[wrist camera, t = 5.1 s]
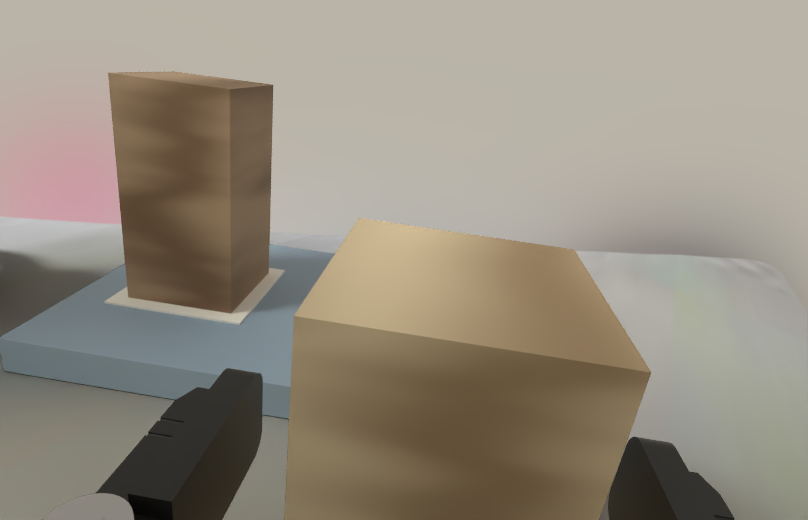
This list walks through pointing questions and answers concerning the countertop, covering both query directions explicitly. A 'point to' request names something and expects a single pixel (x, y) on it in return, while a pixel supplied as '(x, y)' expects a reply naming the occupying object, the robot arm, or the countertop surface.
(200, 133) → the walnut pillar
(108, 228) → the countertop surface
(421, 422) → the oak pillar
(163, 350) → the board
